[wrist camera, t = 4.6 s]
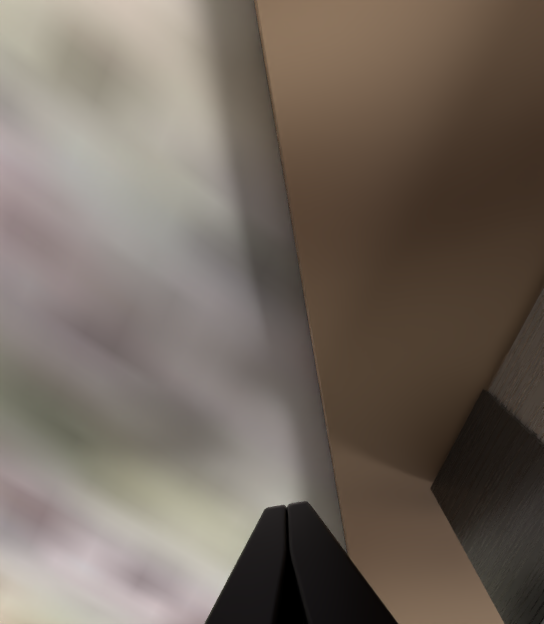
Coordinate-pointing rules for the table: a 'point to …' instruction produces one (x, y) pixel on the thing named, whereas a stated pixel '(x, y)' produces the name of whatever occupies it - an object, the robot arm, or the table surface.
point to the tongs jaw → (504, 480)
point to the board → (409, 251)
